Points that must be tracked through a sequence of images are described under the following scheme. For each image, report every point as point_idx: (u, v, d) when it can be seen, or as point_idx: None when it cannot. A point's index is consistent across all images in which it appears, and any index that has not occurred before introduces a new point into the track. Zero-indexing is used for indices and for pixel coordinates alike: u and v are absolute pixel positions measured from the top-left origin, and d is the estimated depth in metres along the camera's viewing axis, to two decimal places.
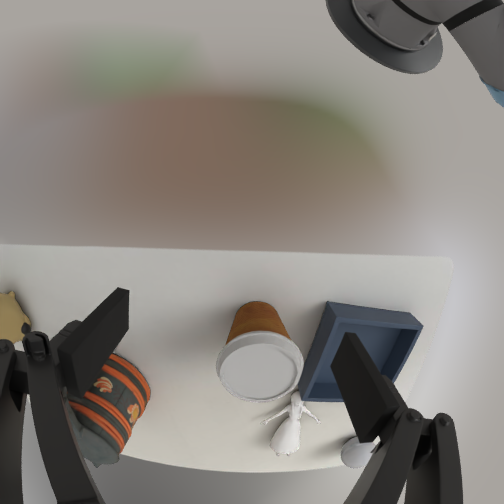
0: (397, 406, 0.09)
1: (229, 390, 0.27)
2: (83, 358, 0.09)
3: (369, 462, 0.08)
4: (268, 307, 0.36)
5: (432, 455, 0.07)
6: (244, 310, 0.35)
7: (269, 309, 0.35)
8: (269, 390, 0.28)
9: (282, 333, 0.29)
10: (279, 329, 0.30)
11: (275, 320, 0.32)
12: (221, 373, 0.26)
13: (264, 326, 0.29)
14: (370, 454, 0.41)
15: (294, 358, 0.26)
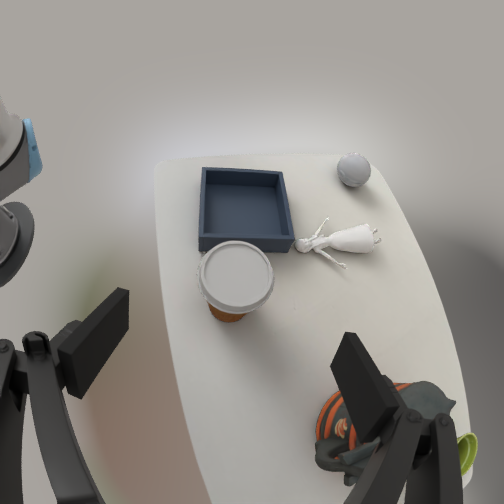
0: (397, 406, 0.09)
1: (263, 294, 0.32)
2: (83, 358, 0.09)
3: (369, 462, 0.08)
4: None
5: (432, 455, 0.07)
6: (213, 312, 0.39)
7: None
8: (256, 261, 0.34)
9: None
10: None
11: None
12: (243, 304, 0.31)
13: None
14: (347, 157, 0.56)
15: (212, 250, 0.33)
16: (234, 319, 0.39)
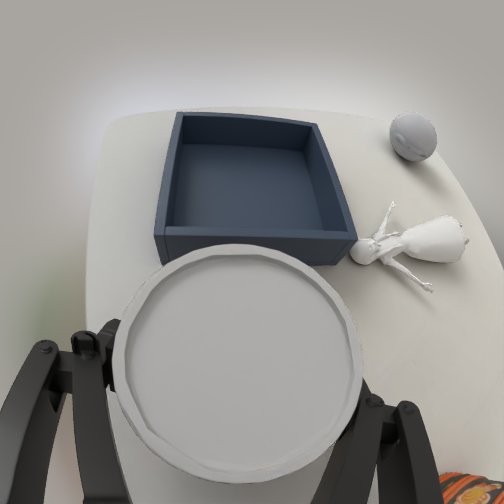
0: None
1: (336, 430, 0.07)
2: None
3: (334, 450, 0.09)
4: None
5: (400, 446, 0.07)
6: None
7: None
8: (307, 315, 0.10)
9: None
10: None
11: None
12: (270, 475, 0.06)
13: None
14: (406, 115, 0.31)
15: (155, 278, 0.09)
16: None
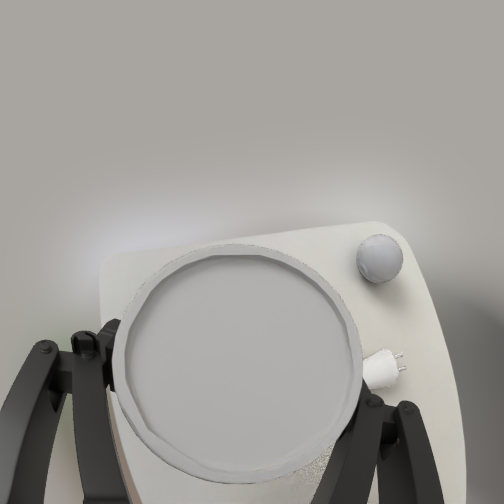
0: None
1: (336, 430, 0.07)
2: None
3: (334, 450, 0.09)
4: None
5: (400, 446, 0.07)
6: None
7: None
8: (307, 316, 0.10)
9: None
10: None
11: None
12: (270, 475, 0.06)
13: None
14: (374, 246, 0.39)
15: (155, 278, 0.09)
16: None
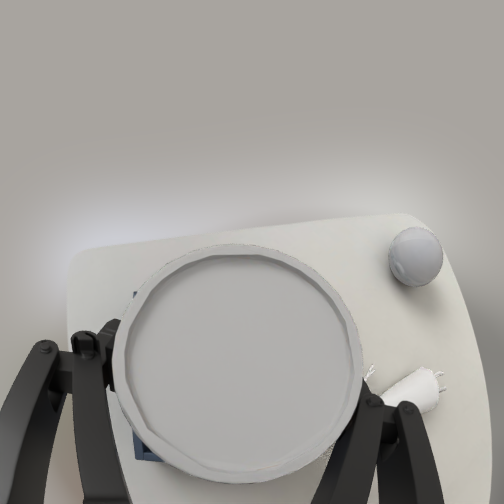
0: None
1: (336, 430, 0.07)
2: None
3: (334, 450, 0.09)
4: None
5: (400, 446, 0.07)
6: None
7: None
8: (307, 315, 0.10)
9: None
10: None
11: None
12: (270, 475, 0.06)
13: None
14: (412, 240, 0.29)
15: (155, 278, 0.09)
16: None
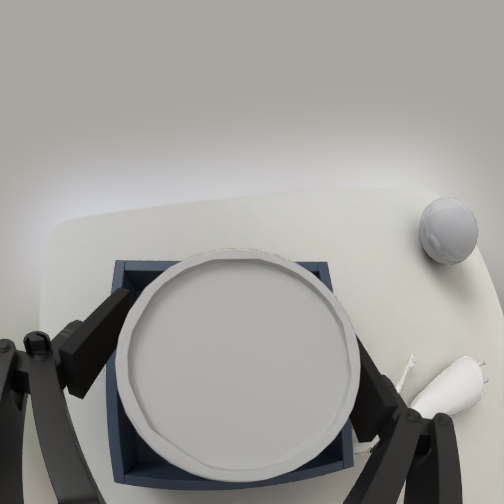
0: (396, 405, 0.09)
1: (334, 430, 0.08)
2: (84, 357, 0.09)
3: (368, 462, 0.08)
4: None
5: (431, 455, 0.07)
6: None
7: None
8: (305, 318, 0.10)
9: None
10: None
11: None
12: (269, 474, 0.07)
13: None
14: (446, 209, 0.23)
15: (157, 282, 0.09)
16: None
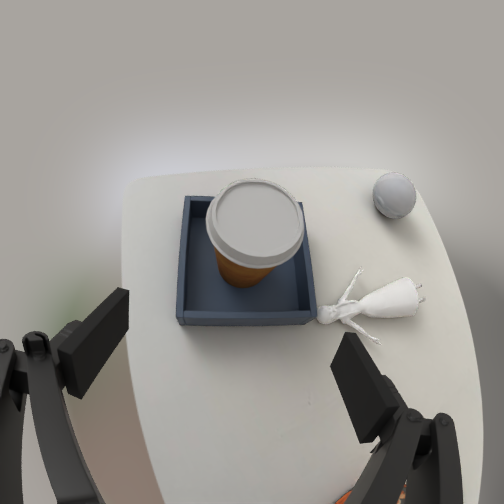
0: (397, 406, 0.09)
1: (292, 243, 0.24)
2: (83, 358, 0.09)
3: (369, 462, 0.08)
4: None
5: (432, 455, 0.07)
6: (223, 274, 0.32)
7: None
8: (282, 204, 0.26)
9: None
10: None
11: None
12: (267, 254, 0.23)
13: None
14: (389, 179, 0.39)
15: (226, 187, 0.26)
16: (250, 283, 0.32)
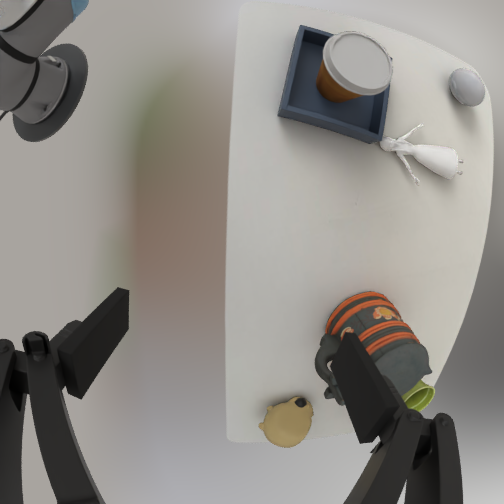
0: (397, 406, 0.09)
1: (381, 85, 0.25)
2: (83, 358, 0.09)
3: (369, 462, 0.08)
4: None
5: (432, 455, 0.07)
6: (321, 88, 0.34)
7: None
8: (380, 57, 0.25)
9: None
10: None
11: None
12: (362, 86, 0.26)
13: (323, 59, 0.28)
14: (466, 74, 0.28)
15: (342, 33, 0.24)
16: (339, 99, 0.34)
